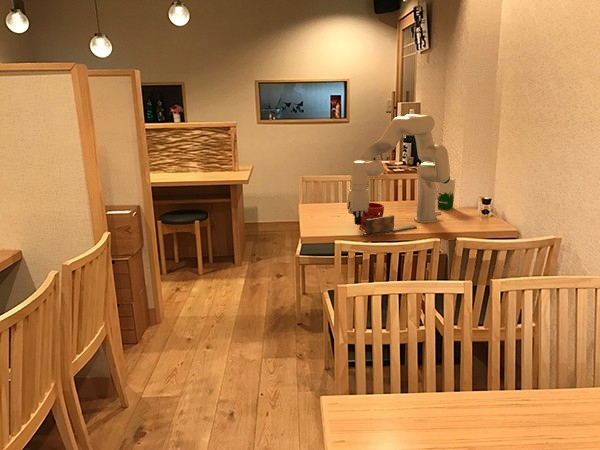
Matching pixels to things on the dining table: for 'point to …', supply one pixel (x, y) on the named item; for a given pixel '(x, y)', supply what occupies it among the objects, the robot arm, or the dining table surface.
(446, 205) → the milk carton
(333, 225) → the dining table surface
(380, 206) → the plant pot
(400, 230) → the screen rail
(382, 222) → the walnut screen
